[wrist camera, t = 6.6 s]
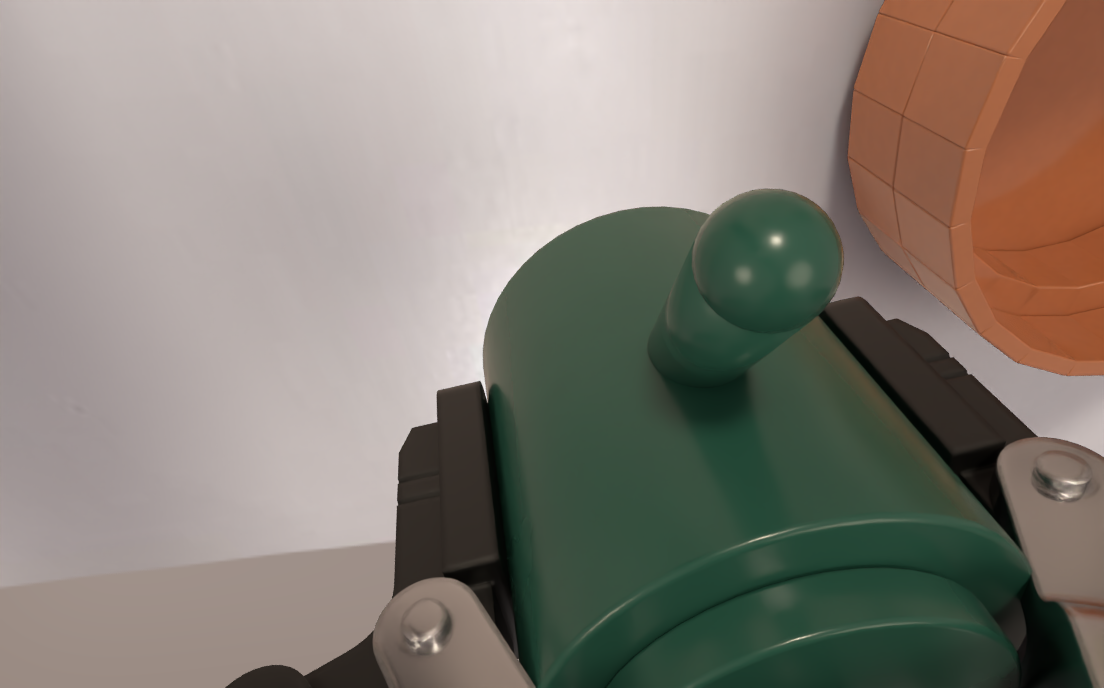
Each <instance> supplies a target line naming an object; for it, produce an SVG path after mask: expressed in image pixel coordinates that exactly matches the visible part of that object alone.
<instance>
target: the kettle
mask: <svg viewBox="0 0 1104 688" xmlns="http://www.w3.org/2000/svg"><path fill="white" fill-rule="evenodd" d="M843 265H844V255H843V247H842V243H841V239H840V236H839V234H838V232H837V230H836V228H835V225H834V223H833V222H832V220H831V219H830V218H829V216H828V215H827V214H826V212H824V211H823V210H822V209H821V208H820V207H819V206H818V205H817V204H816V203H814V202H813V201H811V200H809V199H808V198H806V197H804V196H802V195H799V194H797V193H795V192H790V191H786V190H781V189H758V190H752V191H749V192H745V193H742V194H739V195H737V196H735V197H734V198H732V199H730V200H728V201H726V202H725V203H723V204H722V205H720V206H719V207H718V208H717V209H716V210H715V211H713V212H712V214H711V215H709V214H706V213H702V212H698V211H694V210H689V209H684V208H673V207H641V208H634V209H628V210H622V211H617V212H614V213H610V214H607V215H603V216H600V217H597V218H594V219H592V220H589V221H587V222H584V223H582V224H580V225H577V226H575V227H574V228H572V229H570V230H568V231H566V232H565V233H563V234H561V235H559V236H557V237H556V238H555V239H553V240H552V241H550V242H549V243H548V244H546V245H545V246H543V247H542V248H541V249H539V250H538V251H537V252H536V253H535V254H534V255H533V256H532V257H531V258H530V259H528V260H527V261H526V262H525V263H524V264H523V265H522V266H521V268H520V269H519V270H518V271H517V272H516V274H515V275H514V276H513V277H512V278H511V279H510V281H509V282H508V284H507V285H506V287H505V288H504V290H503V292H502V293H501V295H500V296H499V298H498V300H497V302H496V304H495V306H494V308H493V311H492V313H491V315H490V318H489V321H488V325H487V328H486V332H485V338H484V345H483V369H484V377H485V385H486V393H487V401H488V409H489V418H490V426H491V434H492V442H493V450H494V459H495V467H496V475H497V483H498V491H499V500H500V508H501V516H502V524H503V532H504V541H505V549H506V557H507V565H508V573H509V582H510V590H511V598H512V606H513V614H514V623H515V631H516V639H517V647H518V655H519V662H520V664H521V665H522V667H523V668H524V670H525V672H526V673H527V675H528V676H529V678H530V679H531V681H532V682H533V684H534V685H535V687H536V688H1020V686H1021V679H1022V668H1021V663H1020V658H1019V655H1018V653H1017V651H1018V650H1019V648H1020V646H1021V644H1022V643H1023V641H1024V639H1025V638H1026V624H1025V618H1024V614H1023V610H1022V607H1021V603H1020V600H1021V598H1022V595H1023V593H1024V591H1025V588H1026V586H1027V584H1028V582H1029V579H1030V575H1031V574H1032V573H1033V571H1032V568H1031V565H1030V563H1029V561H1028V558H1027V557H1026V556H1025V554H1024V553H1023V552H1022V551H1021V550H1020V548H1019V547H1018V546H1017V545H1016V544H1015V543H1014V541H1013V540H1012V539H1011V538H1010V537H1009V536H1008V535H1007V533H1006V532H1005V531H1004V530H1003V529H1002V528H1001V526H1000V525H999V524H998V523H997V522H996V521H995V519H994V518H993V517H992V516H991V515H990V514H989V513H988V511H987V510H986V509H985V508H984V507H983V506H982V504H981V503H980V502H979V501H978V500H977V499H976V498H975V496H974V495H973V494H972V493H971V492H970V491H969V489H968V488H967V487H966V486H965V485H964V484H963V482H962V481H961V480H960V479H959V478H958V477H957V476H956V474H955V473H954V472H953V471H952V470H951V469H950V467H949V466H948V465H947V464H946V463H945V462H944V461H943V459H942V458H941V457H940V456H939V455H938V454H937V452H936V451H935V450H934V449H933V448H932V447H931V445H930V444H929V443H928V442H927V441H926V440H925V439H924V437H923V436H922V435H921V434H920V433H919V432H918V430H917V429H916V428H915V427H914V426H913V425H912V423H911V422H910V421H909V420H908V419H907V418H906V417H905V415H904V414H903V413H902V412H901V411H900V410H899V408H898V407H897V406H896V405H895V404H894V403H893V402H892V400H891V399H890V398H889V397H888V396H887V395H886V393H885V392H884V391H883V390H882V389H881V388H880V386H879V385H878V384H877V383H876V382H875V381H874V380H873V378H872V377H871V376H870V375H869V374H868V373H867V371H866V370H865V369H864V368H863V367H862V366H861V365H860V363H859V362H858V361H857V360H856V359H855V358H854V356H853V355H852V354H851V353H850V352H849V351H848V349H847V348H846V347H845V346H844V345H843V344H842V343H841V341H840V340H839V339H838V338H837V337H836V336H835V334H834V333H833V332H832V331H831V330H830V329H829V328H828V326H827V325H826V324H825V323H824V322H823V321H822V319H821V318H820V317H819V316H818V315H819V314H820V313H821V312H822V311H823V310H824V309H825V308H826V306H827V305H828V304H829V302H830V301H831V299H832V298H833V297H834V295H835V293H836V291H837V288H838V286H839V284H840V280H841V276H842V270H843Z"/></svg>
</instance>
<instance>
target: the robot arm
mask: <svg viewBox="0 0 1104 688" xmlns="http://www.w3.org/2000/svg"><path fill="white" fill-rule="evenodd" d="M818 316H819V317H820V318H821V319H822V321H823V322H824V323H825V324H826V325H827V326H828V328H829V329H830V330H831V331H832V332H833V333H834V334H835V336H836V337H837V338H838V339H839V340H840V341H841V343H842V344H843V345H844V346H845V347H846V348H847V349H848V351H849V352H850V353H851V354H852V355H853V356H854V358H855V359H856V360H857V361H858V362H859V363H860V365H861V366H862V367H863V368H864V369H865V370H866V371H867V373H868V374H869V375H870V376H871V377H872V378H873V380H874V381H875V382H876V383H877V384H878V385H879V386H880V388H881V389H882V390H883V391H884V392H885V393H886V395H887V396H888V397H889V398H890V399H891V400H892V402H893V403H894V404H895V405H896V406H897V407H898V408H899V410H900V411H901V412H902V413H903V414H904V415H905V417H906V418H907V419H908V420H909V421H910V422H911V423H912V425H913V426H914V427H915V428H916V429H917V430H918V432H919V433H920V434H921V435H922V436H923V437H924V439H925V440H926V441H927V442H928V443H929V444H930V445H931V447H932V448H933V449H934V450H935V451H936V452H937V454H938V455H939V456H940V457H941V458H942V459H943V461H944V462H945V463H946V464H947V465H948V466H949V467H950V469H951V470H952V471H953V472H954V473H955V474H956V476H957V477H958V478H959V479H960V480H961V481H962V482H963V484H964V485H965V486H966V487H967V488H968V489H969V491H970V492H971V493H972V494H973V495H974V496H975V498H976V499H977V500H978V501H979V502H980V503H981V504H982V506H983V507H984V508H985V509H986V510H987V511H988V513H989V514H990V515H991V516H992V517H993V518H994V519H995V521H996V522H997V523H998V524H999V525H1000V526H1001V528H1002V529H1003V530H1004V531H1005V532H1006V533H1007V535H1008V536H1009V537H1010V538H1011V539H1012V540H1013V541H1014V543H1015V544H1016V545H1017V546H1018V547H1019V548H1020V550H1021V551H1022V552H1023V553H1024V554H1025V556H1026V557H1027V558H1028V561H1029V563H1030V565H1031V568H1032V571H1033V573H1032V574H1031V575H1030V579H1029V582H1028V584H1027V586H1026V588H1025V591H1024V593H1023V595H1022V598H1021V600H1020V603H1021V607H1022V610H1023V614H1024V618H1025V624H1026V638H1025V639H1024V641H1023V643H1022V644H1021V646H1020V648H1019V650H1018V651H1017V653H1018V655H1019V658H1020V663H1021V668H1022V679H1021V686H1020V688H1104V457H1102V456H1101V455H1099V454H1098V453H1096V452H1094V451H1092V450H1090V449H1088V448H1086V447H1083V446H1081V445H1079V444H1076V443H1072V442H1069V441H1065V440H1061V439H1056V438H1047V437H1038V436H1036V435H1035V434H1034V433H1033V432H1032V431H1031V430H1030V429H1029V428H1028V427H1027V426H1026V425H1025V424H1024V423H1023V422H1021V421H1020V420H1019V419H1018V418H1017V417H1016V416H1015V415H1014V414H1013V413H1012V412H1011V411H1010V410H1009V409H1008V408H1007V407H1006V406H1004V405H1003V404H1002V403H1001V402H1000V401H999V400H998V399H997V398H996V397H995V396H994V395H993V394H992V393H991V392H990V391H989V390H987V389H986V388H985V387H984V386H983V385H982V384H981V383H980V382H979V381H978V380H977V379H976V378H975V377H974V376H973V375H972V374H970V375H968V374H967V370H966V369H965V368H964V367H963V366H962V365H961V364H960V363H959V362H958V361H957V360H956V359H955V358H953V357H952V358H950V357H949V353H948V352H947V351H946V350H945V349H944V348H943V347H942V346H941V345H940V344H939V343H937V342H936V341H935V340H934V339H933V338H932V337H931V336H930V335H929V334H928V333H926V332H924V331H922V330H920V329H918V328H916V327H914V326H912V325H910V324H908V323H905V322H903V321H901V320H899V319H892V320H888V321H886V320H885V319H884V318H883V317H882V316H881V315H880V314H879V313H878V312H877V311H876V310H875V309H874V308H873V307H872V306H871V305H870V304H869V303H868V302H867V301H866V300H864V299H863V298H861V297H853V298H848V299H844V300H839V301H835V302H831V303H829V304H828V305H827V306H826V308H825V309H824V310H823V311H822V312H821V313H820V314H819V315H818ZM398 480H399V484H398V494H397V501H398V506H397V522H396V551H395V553H396V554H395V579H394V591H393V596H392V599H391V600H390V602H389V603H388V604H387V605H386V607H385V608H384V610H383V611H382V613H381V614H380V616H379V618H378V620H377V623H376V625H375V629H374V631H373V632H372V633H371V634H370V635H369V636H368V637H367V638H366V639H364V640H363V641H362V642H361V643H359V644H358V645H357V646H355V647H354V648H352V649H351V650H349V651H348V652H346V653H344V654H343V655H341V656H339V657H337V658H335V659H334V660H332V661H330V662H328V663H327V664H325V665H323V666H321V667H319V668H318V669H316V670H314V671H312V672H311V673H309V674H307V675H305V676H303V675H302V674H301V673H299V672H298V671H297V670H295V669H293V668H291V667H287V666H283V665H271V666H264V667H261V668H258V669H255V670H252V671H250V672H248V673H246V674H244V675H242V676H241V677H239V678H237V679H236V680H234V681H233V682H232V683H231V684H229V685H228V686H227V687H226V688H536V687H535V685H534V684H533V682H532V681H531V679H530V678H529V676H528V675H527V673H526V672H525V670H524V668H523V667H522V665H521V664H520V662H519V661H518V659H519V655H518V647H517V639H516V631H515V623H514V614H513V606H512V598H511V590H510V582H509V573H508V565H507V557H506V549H505V541H504V532H503V524H502V516H501V508H500V500H499V491H498V483H497V475H496V467H495V459H494V450H493V442H492V434H491V426H490V418H489V409H488V403H487V400H486V396H485V393H484V389H483V386H482V384H481V382H480V381H478V382H473V383H469V384H465V385H460V386H456V387H451V388H447V389H443V390H438V391H437V422H436V423H432V424H427V425H423V426H419V427H414V428H412V429H411V431H410V433H409V435H408V437H407V439H406V441H405V443H404V445H403V446H402V448H401V450H400V452H399V465H398Z"/></svg>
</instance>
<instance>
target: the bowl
mask: <svg viewBox="0 0 1104 688" xmlns="http://www.w3.org/2000/svg"><path fill="white" fill-rule="evenodd" d="M854 89H855V90H854V91H853V99H852V111H851V122H850V133H849V144H848V157H847V158H848V163H849V168H850V173H851V179H852V184H853V189H854V194H855V199H856V204H857V209H858V211H859V213H860V215H861V217H862V219H863V220H864V222H865V224H866V225H867V227H868V229H869V230H870V232H871V234H872V235H873V237H874V239H875V240H876V242H877V244H878V245H879V247H880V249H881V250H882V251H883V252H884V253H885V254H886V255H887V256H888V257H889V258H890V259H892V260H893V261H894V262H895V263H896V264H897V265H898V266H900V267H901V268H902V269H903V270H904V271H905V272H907V273H908V274H909V275H910V276H911V277H912V278H914V279H915V280H916V281H917V282H918V283H919V284H921V285H922V286H923V287H924V288H925V289H926V290H928V291H929V292H930V293H931V294H932V295H933V296H935V297H936V298H937V299H938V300H939V301H940V302H942V303H943V304H944V305H945V306H946V307H947V308H949V309H950V310H951V311H952V312H953V313H954V314H955V315H957V316H958V317H959V318H960V319H961V320H962V321H964V322H965V323H966V324H967V325H968V326H969V327H971V328H972V329H973V330H974V331H975V332H976V333H978V334H979V335H980V336H981V337H983V338H984V339H985V340H987V341H988V342H989V343H991V344H992V345H993V346H995V347H996V348H997V349H999V350H1000V351H1001V352H1003V353H1004V354H1005V355H1006V356H1008V357H1009V358H1010V359H1012V360H1013V361H1015V362H1017V363H1020V364H1023V365H1027V366H1031V367H1034V368H1038V369H1042V370H1045V371H1049V372H1053V373H1056V374H1060V375H1064V376H1065V375H1066V376H1093V375H1104V0H885V1H884V3H883V5H882V6H881V8H880V10H879V14H878V15H877V18H876V21H875V24H874V27H873V30H872V33H871V36H870V39H869V42H868V45H867V48H866V52H865V55H864V58H863V61H862V64H861V67H860V70H859V73H858V76H857V79H856V82H855V85H854Z"/></svg>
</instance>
